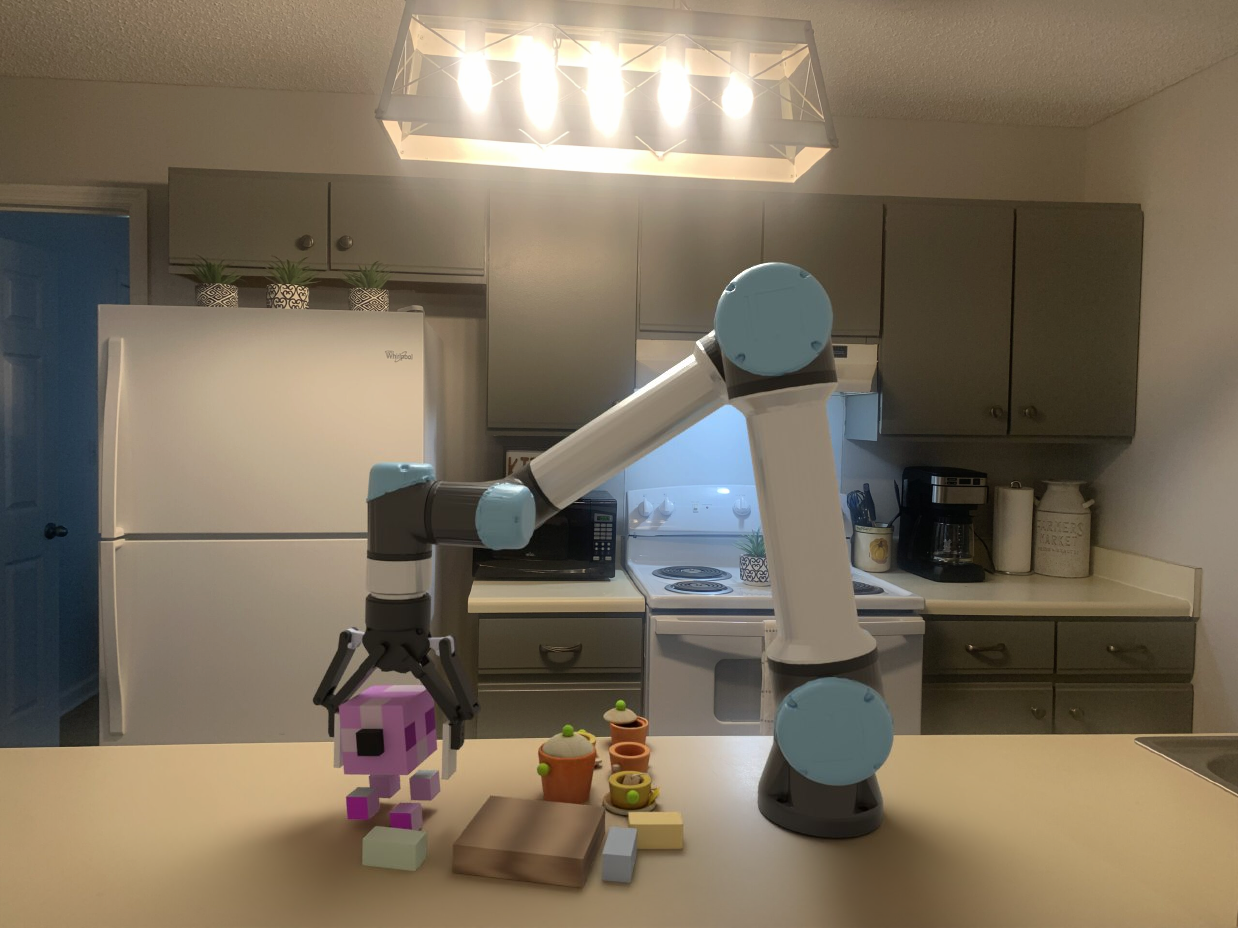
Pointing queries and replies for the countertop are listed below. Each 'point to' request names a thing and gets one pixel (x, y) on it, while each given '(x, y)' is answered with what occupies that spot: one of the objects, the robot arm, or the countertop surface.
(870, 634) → the robot arm
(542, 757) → the toy tea set
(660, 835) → the brick ochre
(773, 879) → the countertop surface
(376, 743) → the toy
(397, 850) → the brick sage
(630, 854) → the brick slate
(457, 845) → the pedestal
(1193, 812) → the countertop surface
